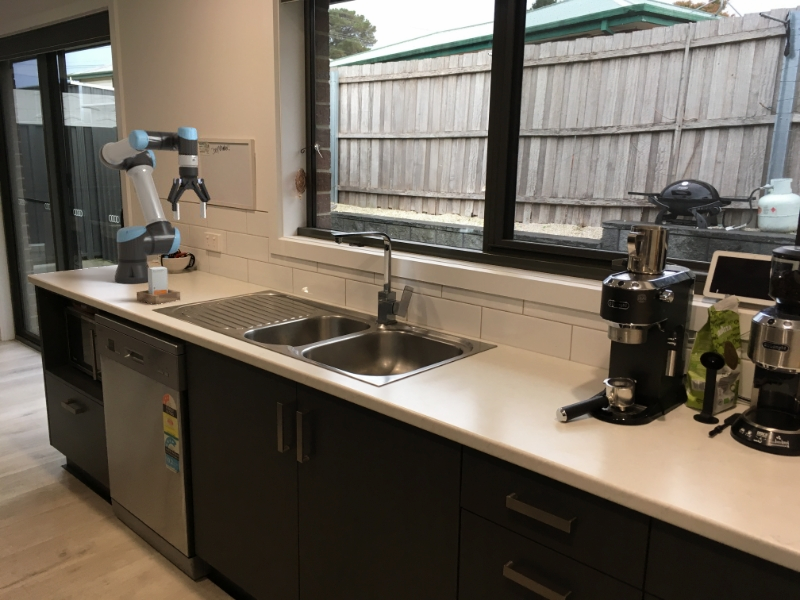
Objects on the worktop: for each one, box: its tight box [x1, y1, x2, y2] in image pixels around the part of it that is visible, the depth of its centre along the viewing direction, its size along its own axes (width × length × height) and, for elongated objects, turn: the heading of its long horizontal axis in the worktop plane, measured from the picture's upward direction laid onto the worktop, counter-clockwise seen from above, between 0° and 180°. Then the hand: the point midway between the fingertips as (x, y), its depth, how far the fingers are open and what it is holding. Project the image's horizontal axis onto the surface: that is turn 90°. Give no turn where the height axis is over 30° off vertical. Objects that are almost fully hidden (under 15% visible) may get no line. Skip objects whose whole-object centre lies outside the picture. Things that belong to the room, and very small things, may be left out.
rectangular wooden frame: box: [136, 289, 181, 305], centre depth 243 cm, size 11×11×3 cm
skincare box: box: [147, 266, 169, 295], centre depth 242 cm, size 6×4×12 cm
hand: (190, 218), depth 265 cm, fingers open, 13 cm apart
